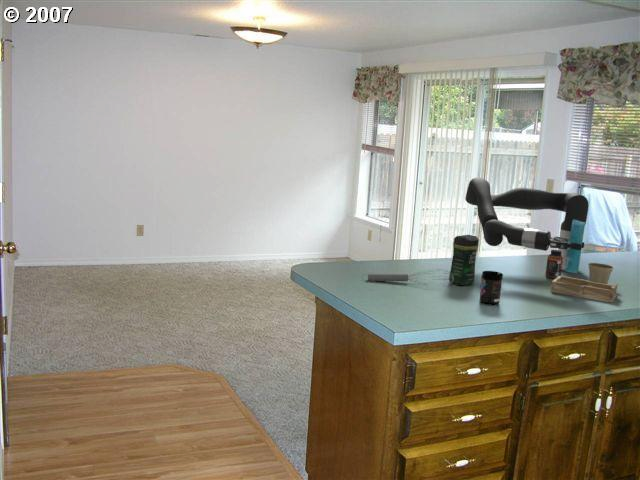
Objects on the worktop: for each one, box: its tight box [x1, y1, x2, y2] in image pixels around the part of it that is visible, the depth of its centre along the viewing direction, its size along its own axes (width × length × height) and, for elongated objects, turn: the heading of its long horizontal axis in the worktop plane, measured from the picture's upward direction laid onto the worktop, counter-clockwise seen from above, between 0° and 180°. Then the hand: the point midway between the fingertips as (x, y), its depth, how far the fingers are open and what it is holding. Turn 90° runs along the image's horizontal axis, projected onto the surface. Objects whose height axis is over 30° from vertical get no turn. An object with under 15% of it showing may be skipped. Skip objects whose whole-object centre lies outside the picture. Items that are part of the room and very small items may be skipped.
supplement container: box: [479, 270, 504, 306], centre depth 223 cm, size 7×7×10 cm
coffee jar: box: [448, 234, 479, 286], centre depth 248 cm, size 10×8×19 cm
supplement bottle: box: [545, 249, 563, 280], centre depth 270 cm, size 6×6×11 cm
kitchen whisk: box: [361, 268, 454, 287], centre depth 244 cm, size 6×34×6 cm, turn 88°
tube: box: [563, 219, 586, 274], centre depth 245 cm, size 7×5×19 cm, turn 19°
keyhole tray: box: [550, 275, 619, 304], centre depth 245 cm, size 13×21×5 cm, turn 59°
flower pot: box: [587, 262, 615, 285], centre depth 258 cm, size 9×9×9 cm
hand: (582, 246), depth 244 cm, fingers closed on tube, 5 cm apart
